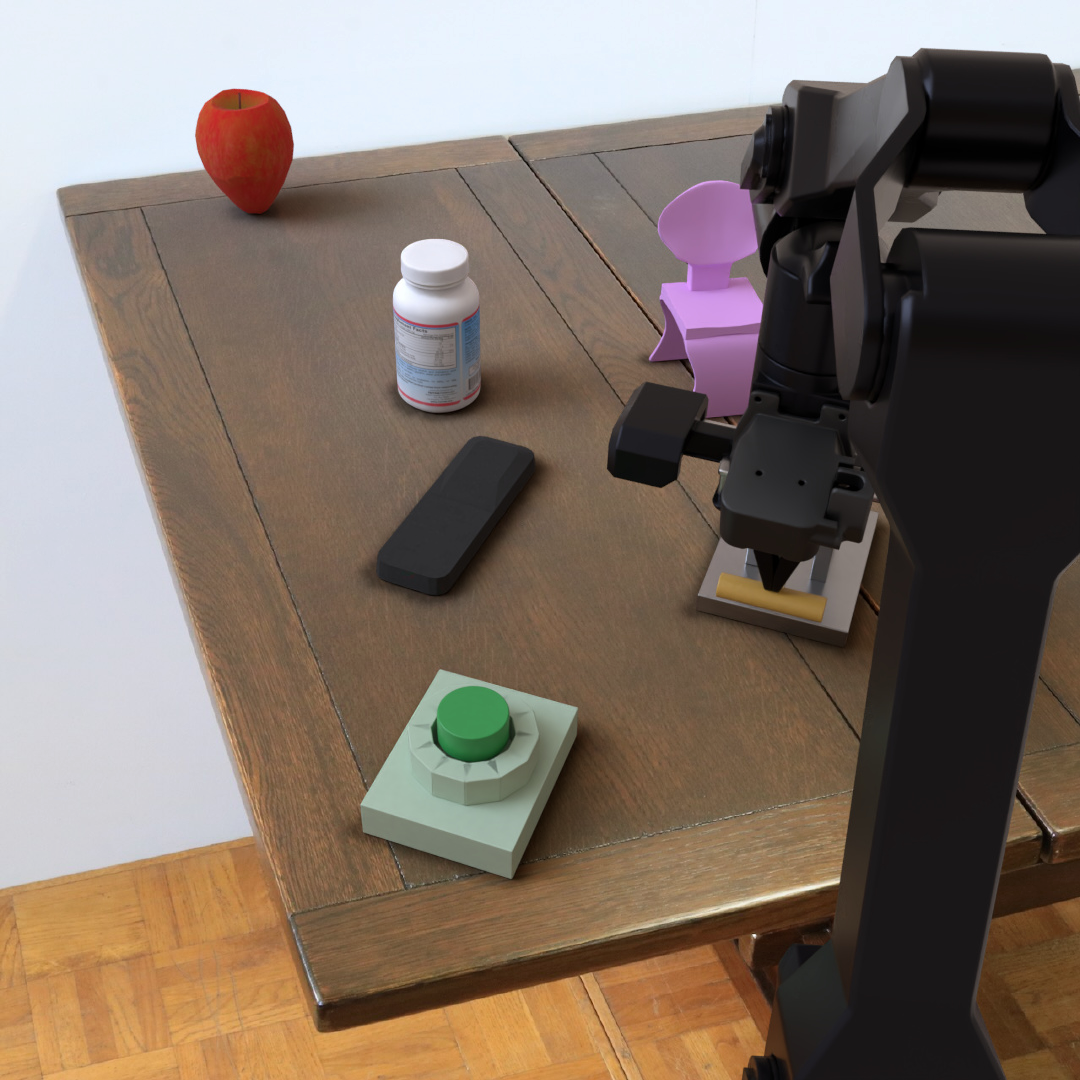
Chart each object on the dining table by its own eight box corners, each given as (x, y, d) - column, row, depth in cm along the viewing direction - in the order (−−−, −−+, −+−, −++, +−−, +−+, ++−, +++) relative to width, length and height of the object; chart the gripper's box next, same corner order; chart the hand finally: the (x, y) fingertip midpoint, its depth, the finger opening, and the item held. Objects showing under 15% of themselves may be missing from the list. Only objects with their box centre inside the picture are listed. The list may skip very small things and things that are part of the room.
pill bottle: (446, 361, 100) (443, 224, 93) (497, 396, 97) (498, 257, 90) (380, 388, 97) (372, 249, 90) (430, 426, 94) (425, 284, 87)
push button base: (512, 879, 64) (513, 828, 62) (362, 832, 66) (357, 780, 64) (576, 735, 72) (580, 683, 69) (440, 696, 74) (438, 645, 71)
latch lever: (819, 630, 74) (823, 612, 72) (715, 604, 75) (715, 585, 73) (862, 466, 79) (867, 445, 77) (763, 445, 80) (765, 423, 78)
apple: (186, 206, 119) (168, 87, 112) (268, 181, 124) (254, 65, 117) (237, 241, 114) (220, 119, 107) (319, 213, 119) (309, 95, 112)
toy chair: (666, 426, 95) (686, 233, 85) (635, 360, 101) (651, 174, 92) (777, 415, 96) (809, 224, 86) (739, 351, 102) (765, 167, 93)
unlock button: (493, 770, 65) (493, 747, 64) (426, 750, 66) (425, 727, 65) (519, 719, 68) (519, 696, 67) (454, 701, 69) (453, 677, 67)
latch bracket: (844, 648, 77) (875, 518, 71) (695, 610, 80) (712, 480, 73) (875, 527, 86) (906, 401, 80) (740, 496, 88) (759, 371, 82)
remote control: (443, 605, 80) (540, 463, 90) (442, 584, 79) (540, 443, 89) (371, 583, 82) (474, 445, 92) (369, 561, 80) (474, 425, 91)
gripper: (580, 390, 60) (567, 639, 70) (1003, 482, 55) (924, 734, 65) (648, 279, 68) (628, 516, 78) (1022, 351, 64) (949, 593, 74)
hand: (772, 587), depth 74 cm, fingers closed, pressing on latch lever
